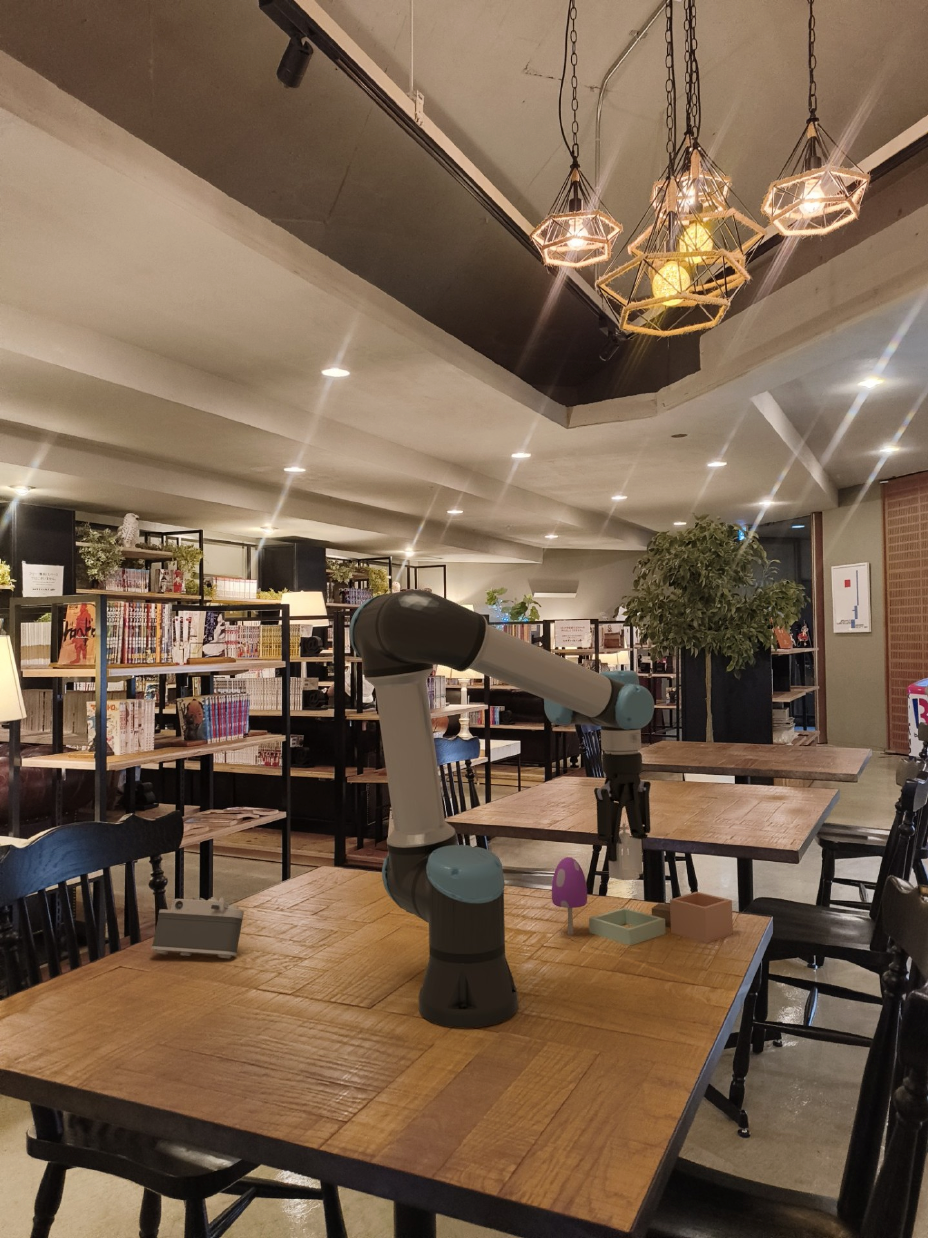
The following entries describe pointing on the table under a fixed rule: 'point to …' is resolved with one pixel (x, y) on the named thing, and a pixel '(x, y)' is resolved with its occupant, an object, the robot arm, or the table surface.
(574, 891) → the toy
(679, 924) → the square terracotta box
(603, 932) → the green tray
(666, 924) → the walnut block
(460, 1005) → the robot arm
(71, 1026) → the table surface
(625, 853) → the chess piece
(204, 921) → the camera
